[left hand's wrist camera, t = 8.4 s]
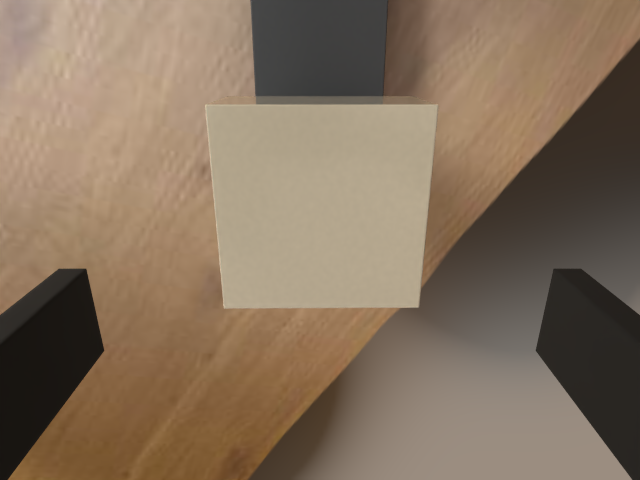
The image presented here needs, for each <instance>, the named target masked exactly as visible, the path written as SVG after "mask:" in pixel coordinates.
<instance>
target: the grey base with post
mask: <svg viewBox="0 0 640 480" xmlns="http://www.w3.org/2000/svg"><path fill="white" fill-rule="evenodd" d="M387 12H388V0H251V16H252V36H253V55H254V75H255V94H256V96H383V89H384V70H385V51H386V32H387Z"/></svg>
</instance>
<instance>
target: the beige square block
mask: <svg viewBox="0 0 640 480" xmlns="http://www.w3.org/2000/svg"><path fill="white" fill-rule="evenodd" d="M438 107H439V106H438V105H437V104H434V103H432V102H429V101H426V100H423V99H420V98H417V97H414V96H227V97H224V98H222V99H219V100H217V101H214V102H212V103H209V104H207V105H205V111H206V122H207V132H208V143H209V154H210V165H211V175H212V186H213V197H214V207H215V218H216V229H217V240H218V250H219V261H220V272H221V283H222V293H223V304H224V308H418V307H419V302H420V291H421V282H422V271H423V261H424V251H425V241H426V230H427V220H428V210H429V200H430V189H431V179H432V169H433V159H434V148H435V138H436V128H437V118H438Z"/></svg>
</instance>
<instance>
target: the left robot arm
mask: <svg viewBox="0 0 640 480" xmlns="http://www.w3.org/2000/svg"><path fill="white" fill-rule="evenodd" d="M103 352H104V347H103V343H102V338H101V334H100V329H99V325H98V320H97V316H96V311H95V306H94V302H93V297H92V293H91V288H90V284H89V279H88V274H87V270H86V269H58V270H57V271H56V272H54V273H53V274H52V275H50V276H49V277H48V278H47V279H45V280H44V281H43V282H42V283H40V284H39V285H38V286H37V287H35V288H34V289H33V290H32V291H30V292H29V293H28V294H26V295H25V296H24V297H23V298H21V299H20V300H19V301H18V302H16V303H15V304H14V305H13V306H11V307H10V308H9V309H7V310H6V311H5V312H4V313H2V314H1V315H0V480H8V478H9V477H10V476H11V474H12V473H13V472H14V470H15V469H16V468H17V466H18V465H19V464H20V462H21V461H22V460H23V458H24V457H25V456H26V454H27V453H28V452H29V450H30V449H31V448H32V446H33V445H34V444H35V442H36V441H37V440H38V438H39V437H40V436H41V434H42V433H43V432H44V430H45V429H46V428H47V426H48V425H49V424H50V422H51V421H52V420H53V418H54V417H55V416H56V414H57V413H58V412H59V410H60V409H61V408H62V406H63V405H64V404H65V402H66V401H67V400H68V398H69V397H70V396H71V394H72V393H73V392H74V390H75V389H76V388H77V386H78V385H79V384H80V382H81V381H82V380H83V378H84V377H85V376H86V374H87V373H88V372H89V370H90V369H91V368H92V366H93V365H94V364H95V362H96V361H97V360H98V358H99V357H100V356H101V354H102V353H103ZM536 352H537V353H538V354H539V356H540V357H541V358H542V360H543V361H544V362H545V364H546V365H547V366H548V368H549V369H550V370H551V372H552V373H553V374H554V376H555V377H556V378H557V380H558V381H559V382H560V384H561V385H562V386H563V388H564V389H565V390H566V392H567V393H568V394H569V396H570V397H571V398H572V400H573V401H574V402H575V404H576V405H577V406H578V408H579V409H580V410H581V412H582V413H583V414H584V416H585V417H586V418H587V420H588V421H589V422H590V424H591V425H592V426H593V428H594V429H595V430H596V432H597V433H598V434H599V436H600V437H601V438H602V440H603V441H604V442H605V444H606V445H607V446H608V448H609V449H610V450H611V452H612V453H613V454H614V456H615V457H616V458H617V460H618V461H619V462H620V464H621V465H622V466H623V468H624V469H625V470H626V472H627V473H628V474H629V476H630V477H631V478H632V480H640V315H639V314H638V313H636V312H635V311H634V310H632V309H631V308H630V307H629V306H627V305H626V304H625V303H624V302H622V301H621V300H620V299H619V298H617V297H616V296H615V295H613V294H612V293H611V292H610V291H608V290H607V289H606V288H605V287H603V286H602V285H601V284H600V283H598V282H597V281H596V280H595V279H593V278H592V277H591V276H590V275H588V274H587V273H586V272H584V271H583V270H582V269H554V270H553V274H552V279H551V284H550V288H549V293H548V297H547V302H546V306H545V311H544V316H543V320H542V325H541V329H540V334H539V338H538V343H537V347H536Z"/></svg>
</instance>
